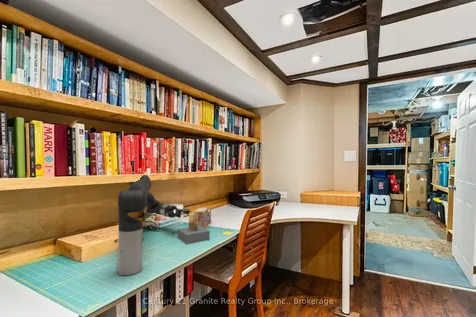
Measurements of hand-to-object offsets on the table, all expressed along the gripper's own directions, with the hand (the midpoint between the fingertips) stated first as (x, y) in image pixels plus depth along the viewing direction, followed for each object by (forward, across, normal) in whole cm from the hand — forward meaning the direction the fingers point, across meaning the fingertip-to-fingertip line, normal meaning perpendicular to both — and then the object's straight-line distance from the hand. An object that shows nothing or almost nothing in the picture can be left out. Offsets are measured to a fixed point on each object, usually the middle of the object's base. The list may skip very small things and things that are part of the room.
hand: (186, 214), depth 148 cm
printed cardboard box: (-8, +23, +14) cm, 28 cm away
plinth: (+7, 0, +13) cm, 15 cm away
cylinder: (+7, 0, +8) cm, 11 cm away
